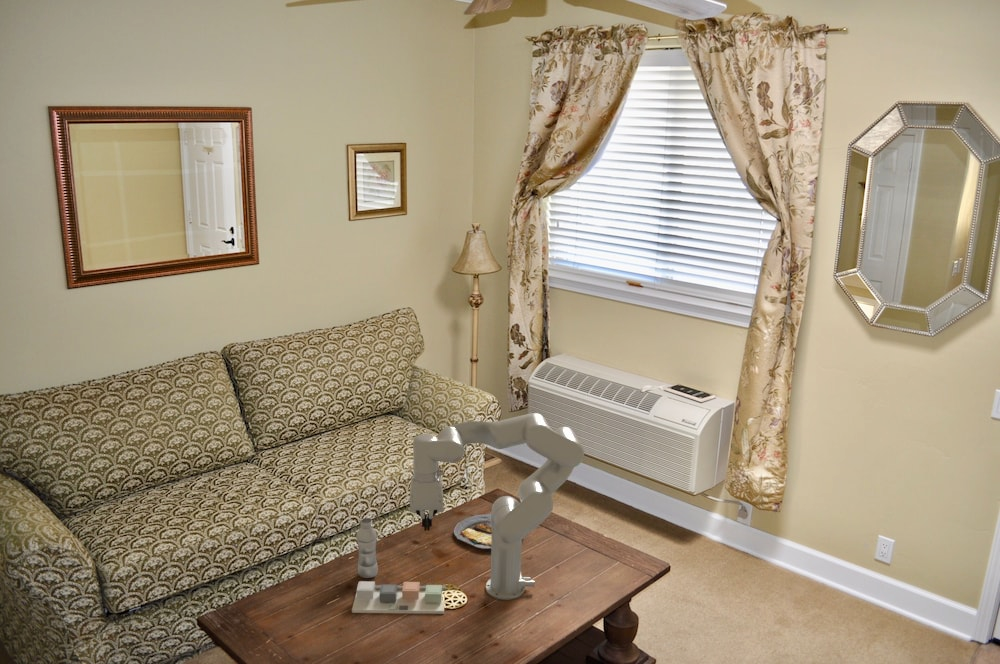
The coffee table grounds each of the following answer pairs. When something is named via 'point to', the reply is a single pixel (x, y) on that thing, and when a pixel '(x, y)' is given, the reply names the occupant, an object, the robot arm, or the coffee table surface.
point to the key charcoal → (388, 593)
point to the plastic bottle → (367, 549)
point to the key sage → (433, 594)
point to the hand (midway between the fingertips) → (427, 528)
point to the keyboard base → (397, 604)
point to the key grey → (365, 589)
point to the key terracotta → (411, 590)
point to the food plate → (475, 537)
